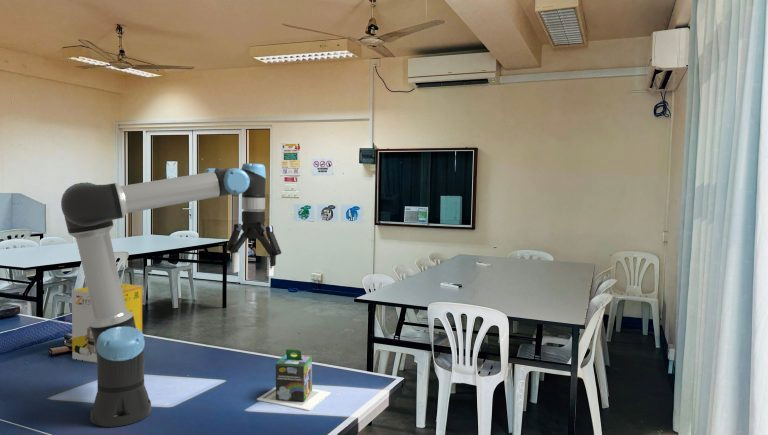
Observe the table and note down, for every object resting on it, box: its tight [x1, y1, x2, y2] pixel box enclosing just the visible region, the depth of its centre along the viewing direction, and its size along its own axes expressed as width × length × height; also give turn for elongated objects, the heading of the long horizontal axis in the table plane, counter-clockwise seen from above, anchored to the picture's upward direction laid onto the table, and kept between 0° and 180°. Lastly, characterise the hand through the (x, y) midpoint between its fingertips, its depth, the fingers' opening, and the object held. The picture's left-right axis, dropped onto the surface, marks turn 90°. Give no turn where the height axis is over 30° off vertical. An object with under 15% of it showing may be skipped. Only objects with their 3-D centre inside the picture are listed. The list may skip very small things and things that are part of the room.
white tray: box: [256, 386, 332, 412], centre depth 165 cm, size 14×18×1 cm
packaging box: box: [71, 283, 143, 364], centre depth 196 cm, size 16×16×25 cm
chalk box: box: [275, 348, 313, 402], centre depth 164 cm, size 9×9×15 cm
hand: (252, 274), depth 178 cm, fingers open, 13 cm apart
